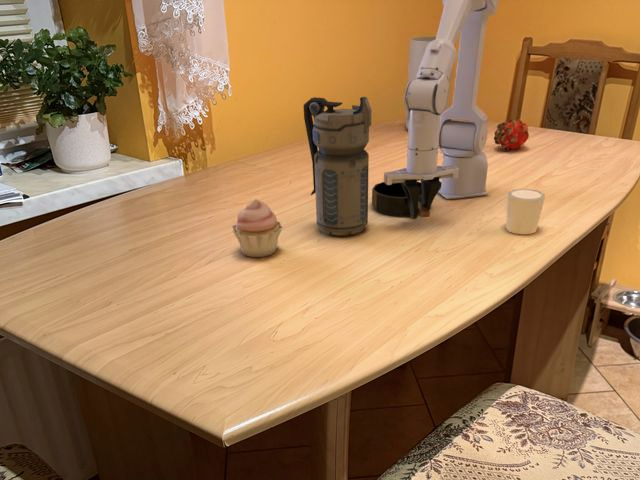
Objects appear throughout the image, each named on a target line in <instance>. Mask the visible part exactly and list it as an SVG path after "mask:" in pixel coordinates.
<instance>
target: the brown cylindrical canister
mask: <svg viewBox="0 0 640 480" xmlns="http://www.w3.org/2000/svg"><path fill="white" fill-rule="evenodd" d="M359 101H360V102H359V105H355V104H352V105H351V108H338V107H340V106H341V105H343V102H341V101H340V102H338V101H328V100H327V99H326V98H324V97H315V96H313V97H310V99H308V100H307V101H306V102H305V103H304V104H303V120H304V126H305V131H306V136H307V141H308V146H309V152H310V157H311V162H312V185H313V189H312V191H311V193H310V196H313V195H314V194H315V215H316V216H315V218H316V219H315V220H316V225H317V227H318V229H319V231H321V232H322V233H324V234H327V235H331V236H337V237H346V236H348V237H349V236H353V235H357V234H359V233H361V232H363V231H364V230H365V229H366V227H367V225H368V224H369V167H370V166H369V164H370V163H369V160H370V159H369V158H370V156H369V152H368V151H367V150H366V146H367V145H368V144H369V142H370V127H371V126H372V107H371V105H370V103H369V99H368V97H367V96H361V97H360V98H359ZM325 107H326V108H327V109H326V110H325Z"/></svg>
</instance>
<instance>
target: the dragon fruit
mask: <svg viewBox="0 0 640 480" xmlns="http://www.w3.org/2000/svg"><path fill="white" fill-rule="evenodd" d="M496 128H497V129H496V130H494V136H493V141H494V144H495V145H499V146H500V148H501V149H502V150H503V151H505V152H508V151H509V150H510V149H513V150H514V151H515V150H516V151H517V150H518V151H520V150H521V149H522V147H523V146H524V144H525V143H527V140H528V139H529V137H530V134H529V127H528V125H527V123H525V122H524V123H523V121H522V120H521V119H519V118H518V119H509V120H507V121H503V122H501V123H498V124H497V126H496Z"/></svg>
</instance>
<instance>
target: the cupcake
mask: <svg viewBox="0 0 640 480" xmlns="http://www.w3.org/2000/svg"><path fill="white" fill-rule="evenodd" d="M236 216H237V217H236V219H237V221H236V224H234V225H231V228H232V233H233V234H234V237H235V238H236V239H237V242H238V244H239V248H240V251H241V252H242V254H243V255H245V256H247V257H250V258H263V257H268V256H271V255H273V254H275V252H276V250H277V247H278V241H279V237H280V234H281V232H282V231H283V229H284V227H283V226H282V222H281V221H278V218H277V215H276V214H275V213H274V212H273V211H272V209H271V207H270V206H269V205H268V204H267V203H265V202H264V201H262V200H261V199H254V200H252V201H250V202H249V203H248V204H247V205H246V206H245V208H244V209H242V210H240V211H239V212H238V213H237V215H236Z"/></svg>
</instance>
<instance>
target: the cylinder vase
mask: <svg viewBox="0 0 640 480" xmlns="http://www.w3.org/2000/svg"><path fill="white" fill-rule="evenodd" d="M433 40H436V36H416V37H411V38H409V53H408V57H409V58H408V73H407V84H408V83H409V82H410V81H413V80H414V79H415V78H416V75H417V73H418V70H419V67H420V64H421V61H422V59H423V56H424V53H425V50H426V47H427V45H428V44H429V43H430V42H431V41H433ZM452 71H453V69H452V70H451V73H450V76H449V79H448V82H449V88H448V94H447V101H446V105H445V108H444V110H443V111H442V113H443V112H444V111H445V110H447V109H448V108H450V98H451V85H452ZM442 113H441V114H442ZM440 116H441V115H440ZM405 119H406V118H405ZM405 128H406V129H407V130H408V129H409V122H408V121H407V119H406V120H405Z"/></svg>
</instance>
